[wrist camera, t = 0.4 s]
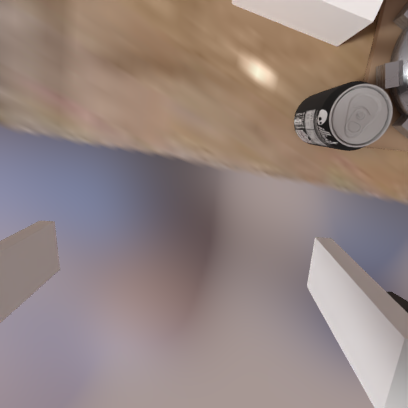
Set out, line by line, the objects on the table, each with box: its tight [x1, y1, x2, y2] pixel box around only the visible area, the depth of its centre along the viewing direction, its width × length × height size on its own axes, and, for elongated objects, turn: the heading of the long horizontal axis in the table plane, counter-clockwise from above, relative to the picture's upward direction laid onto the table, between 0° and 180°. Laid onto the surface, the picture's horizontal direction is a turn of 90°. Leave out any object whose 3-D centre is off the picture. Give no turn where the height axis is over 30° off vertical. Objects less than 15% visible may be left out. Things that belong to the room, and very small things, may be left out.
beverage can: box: [294, 81, 393, 151], centre depth 31 cm, size 7×7×12 cm
